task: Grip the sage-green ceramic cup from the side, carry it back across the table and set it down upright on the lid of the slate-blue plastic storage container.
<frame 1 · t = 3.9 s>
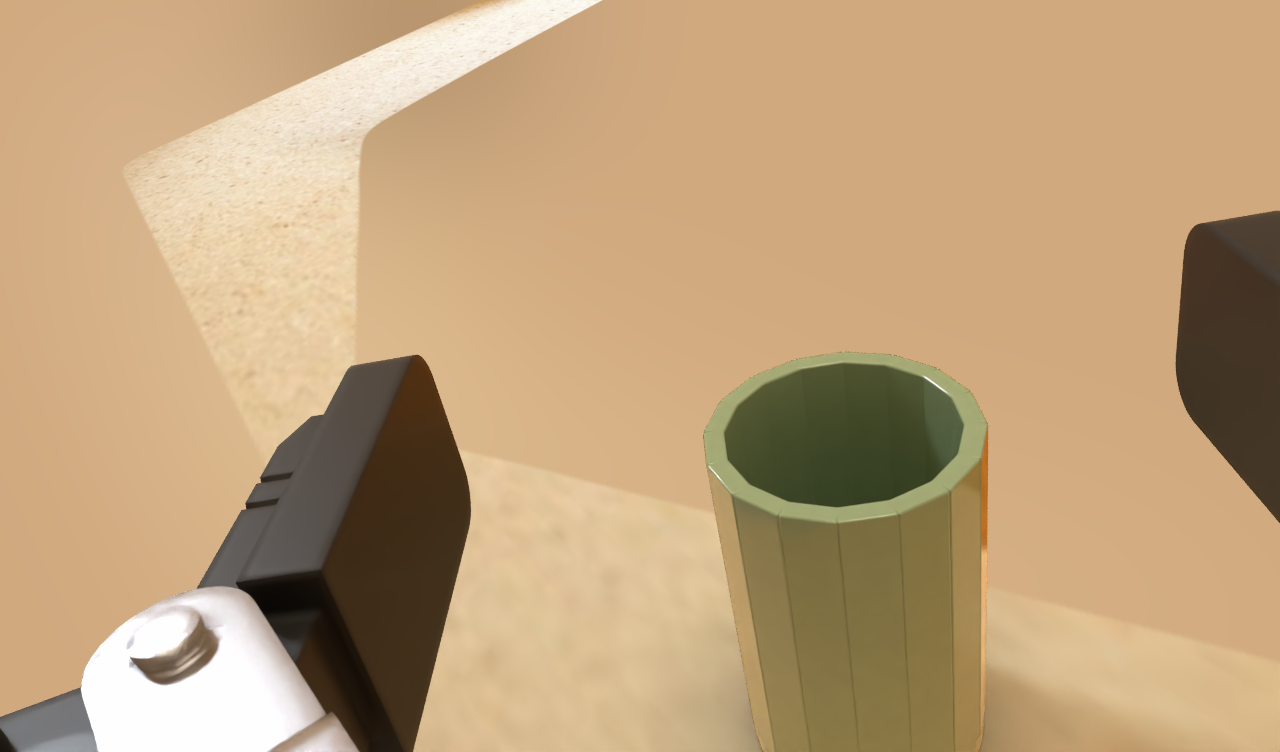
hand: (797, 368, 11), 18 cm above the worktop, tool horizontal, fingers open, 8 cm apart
cup: (866, 713, 28), on the worktop
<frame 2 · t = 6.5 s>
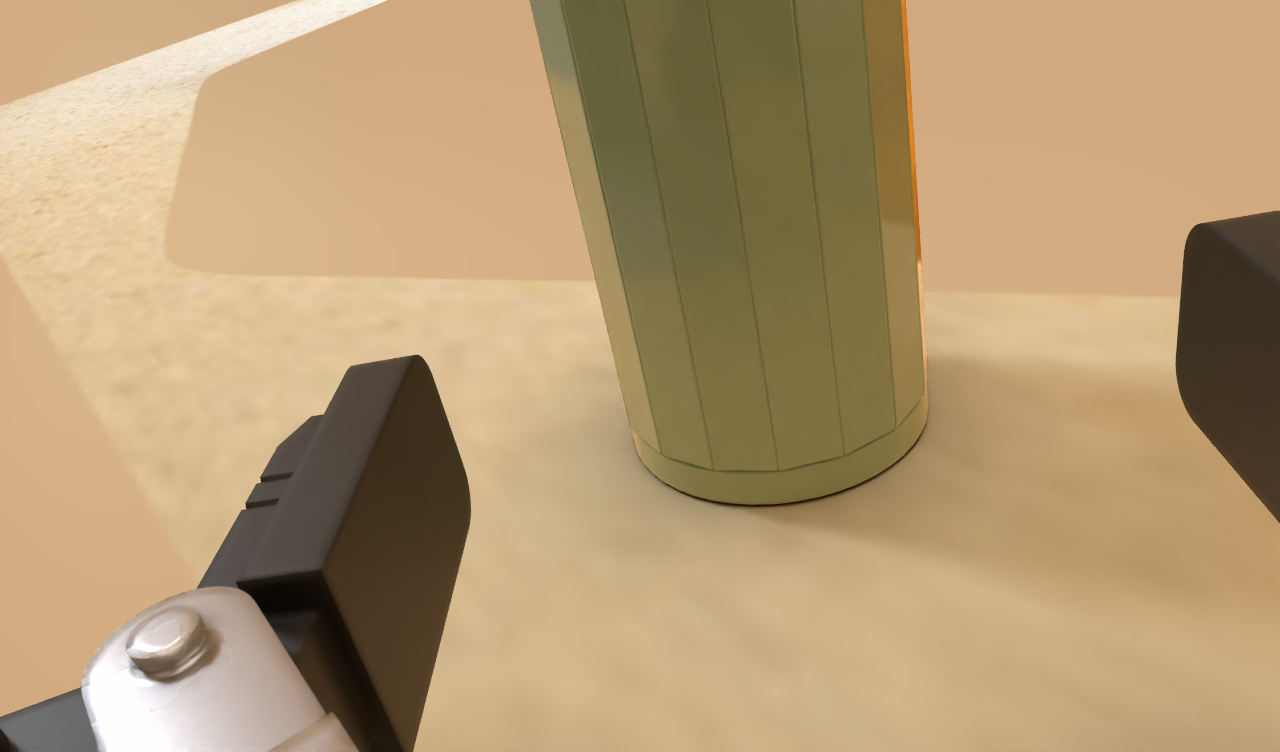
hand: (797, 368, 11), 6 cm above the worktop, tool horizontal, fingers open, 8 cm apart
cup: (777, 414, 22), on the worktop
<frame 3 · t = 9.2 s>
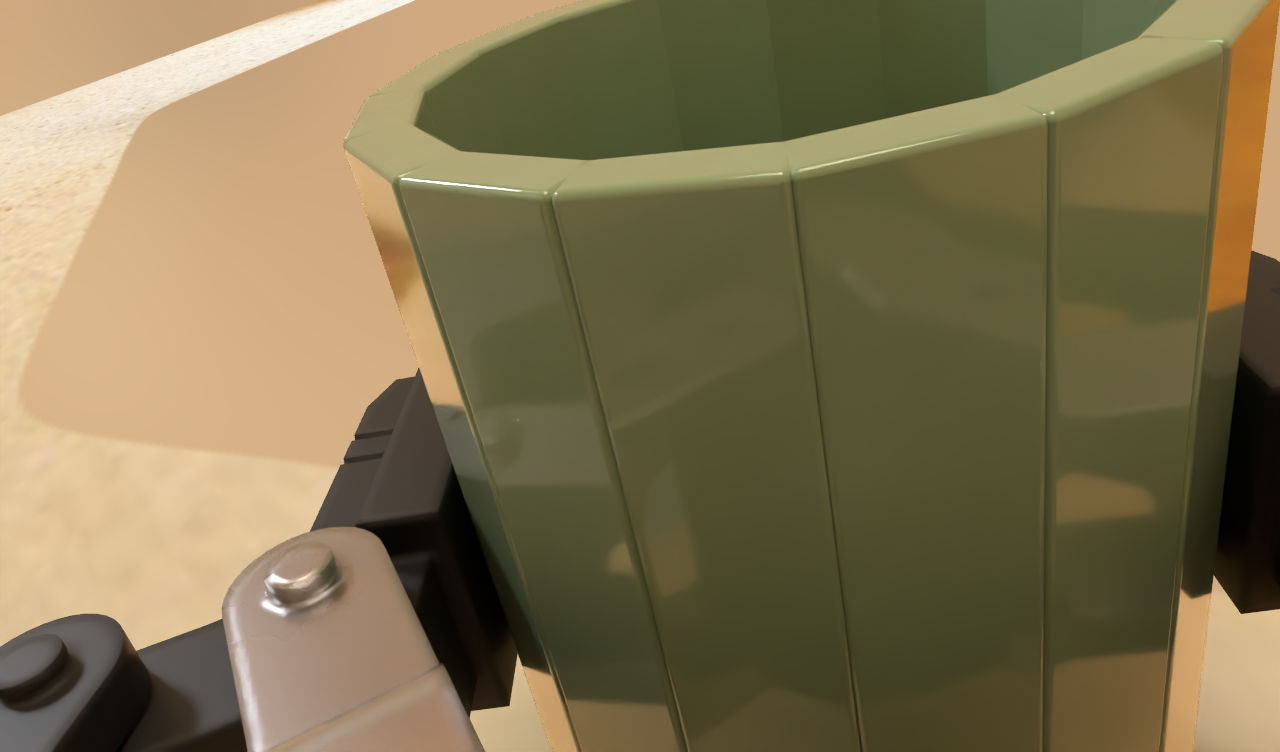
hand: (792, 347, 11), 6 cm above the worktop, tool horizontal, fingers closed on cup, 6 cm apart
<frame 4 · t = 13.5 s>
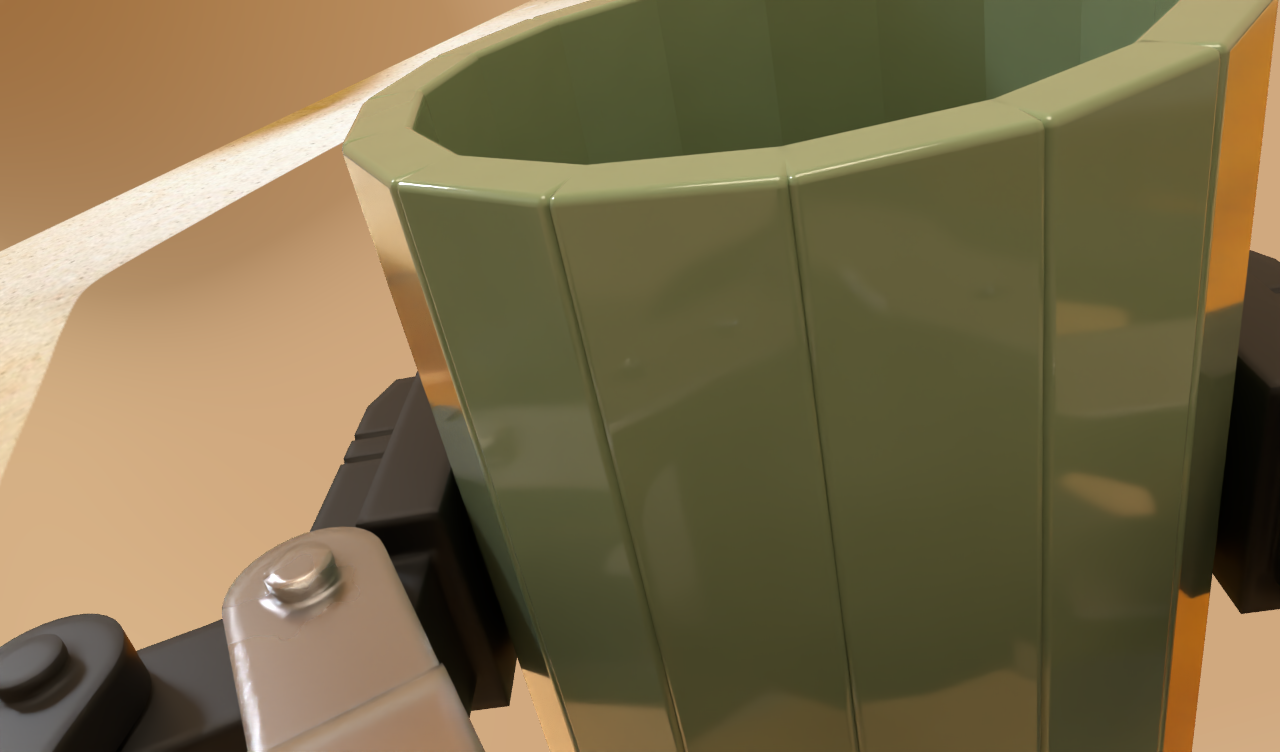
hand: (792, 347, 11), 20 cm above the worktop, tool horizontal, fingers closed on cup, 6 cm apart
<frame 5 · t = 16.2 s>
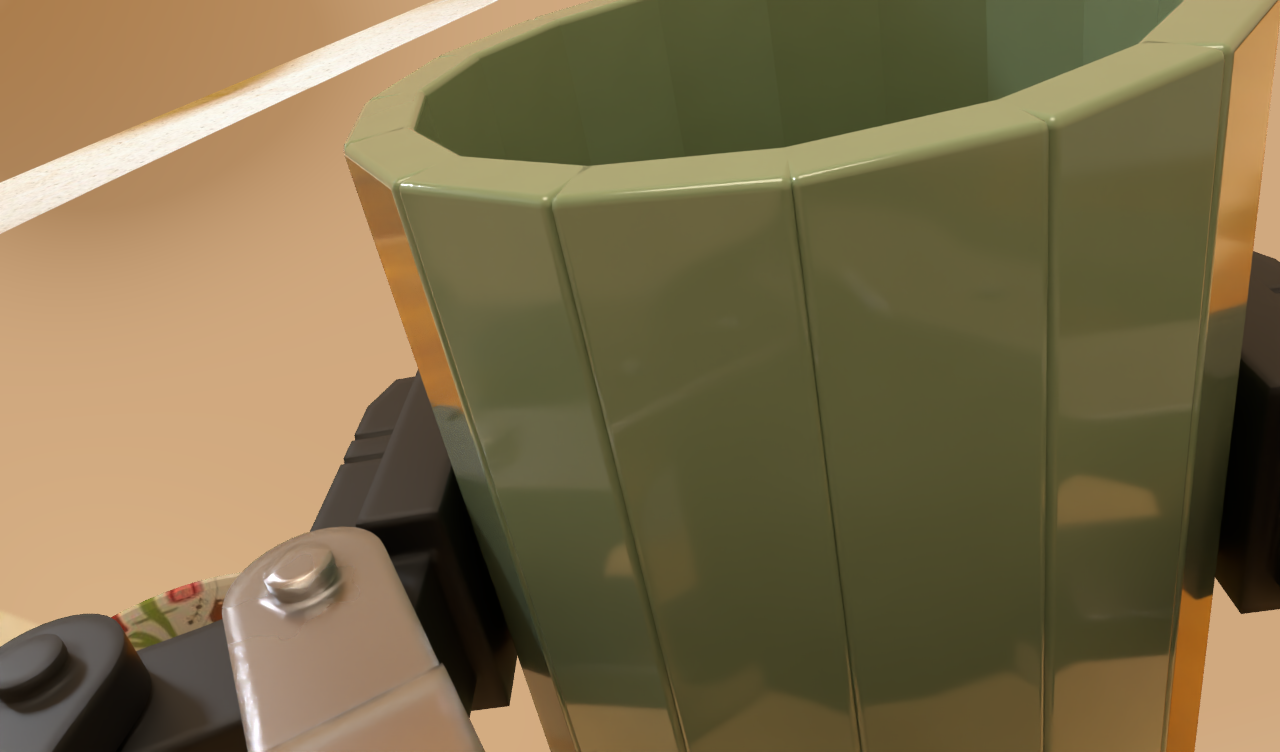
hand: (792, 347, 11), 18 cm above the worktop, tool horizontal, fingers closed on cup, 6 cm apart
when the fingers open (13 cm above the worktop, at t = 18.0 s): cup stays where it is, resting on container.
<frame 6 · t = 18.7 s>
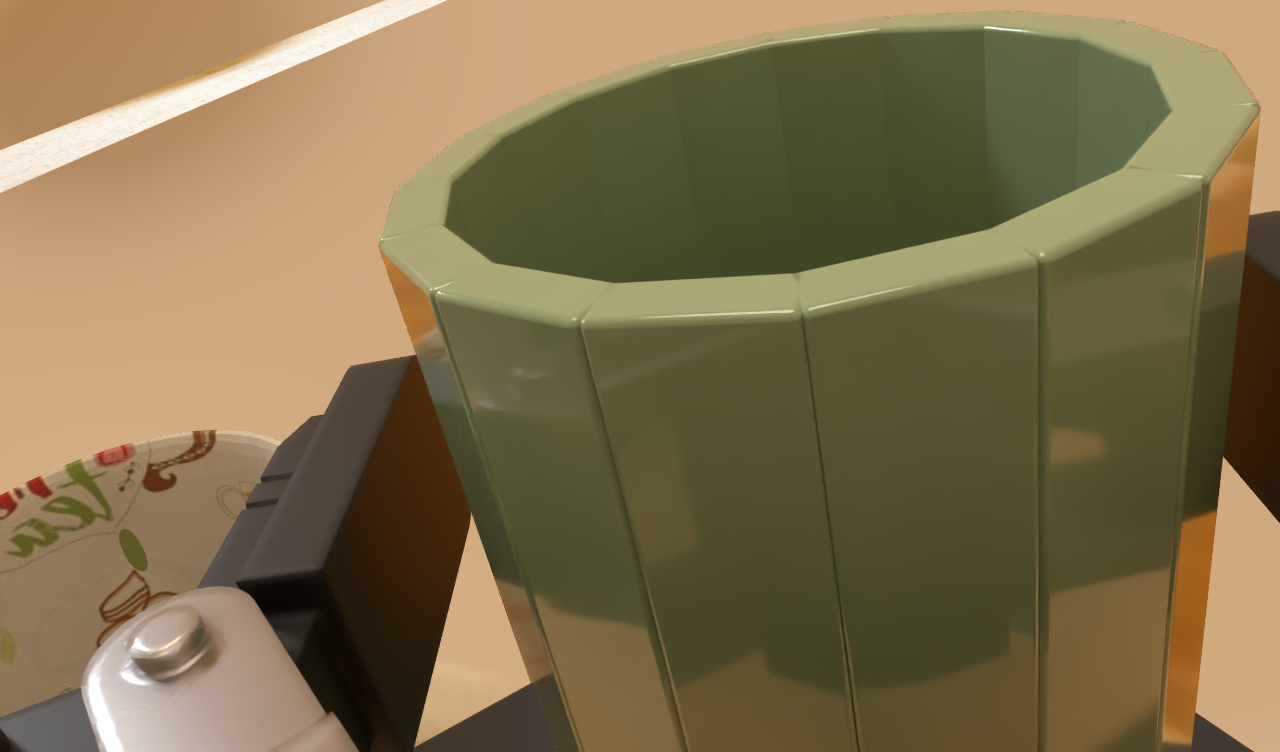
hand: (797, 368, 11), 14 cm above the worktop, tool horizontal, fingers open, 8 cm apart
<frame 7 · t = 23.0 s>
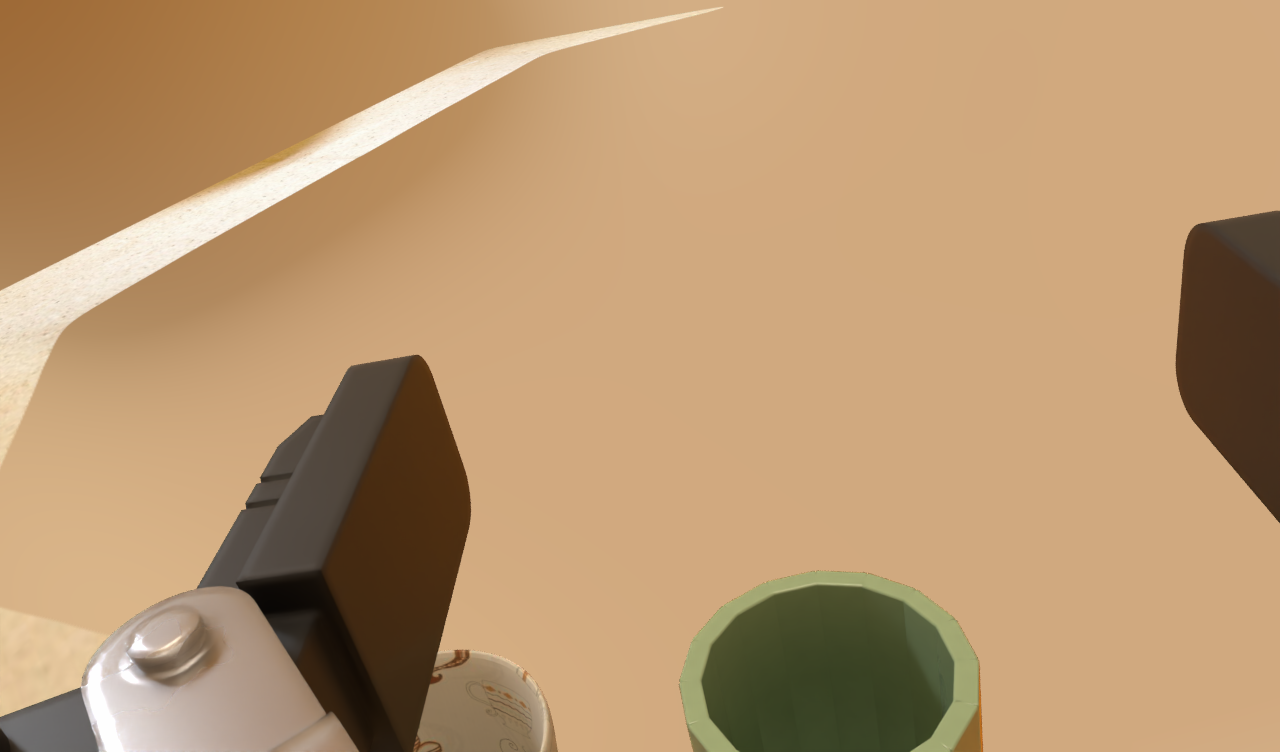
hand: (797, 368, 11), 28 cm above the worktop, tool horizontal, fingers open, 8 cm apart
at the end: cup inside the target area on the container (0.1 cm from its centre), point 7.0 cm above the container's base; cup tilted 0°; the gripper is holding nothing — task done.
